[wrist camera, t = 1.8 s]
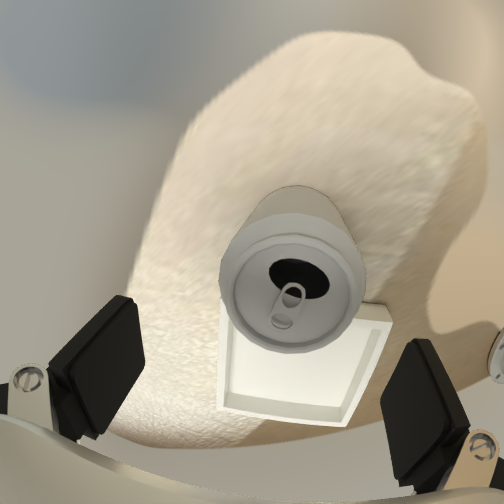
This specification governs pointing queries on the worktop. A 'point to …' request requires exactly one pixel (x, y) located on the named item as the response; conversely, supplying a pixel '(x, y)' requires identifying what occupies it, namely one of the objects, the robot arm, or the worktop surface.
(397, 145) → the worktop surface
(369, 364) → the tray
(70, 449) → the robot arm
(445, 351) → the worktop surface
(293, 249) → the can
